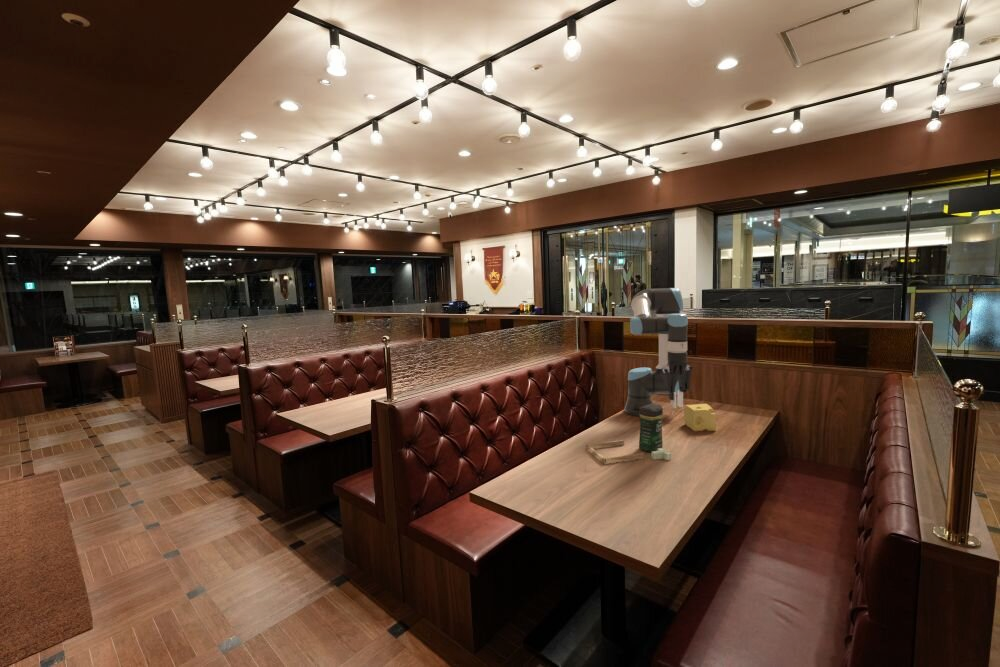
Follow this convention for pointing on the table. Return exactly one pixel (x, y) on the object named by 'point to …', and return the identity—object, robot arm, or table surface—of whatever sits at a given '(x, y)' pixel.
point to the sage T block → (661, 454)
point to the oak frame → (612, 459)
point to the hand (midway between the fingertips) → (676, 406)
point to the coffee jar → (651, 427)
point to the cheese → (700, 417)
